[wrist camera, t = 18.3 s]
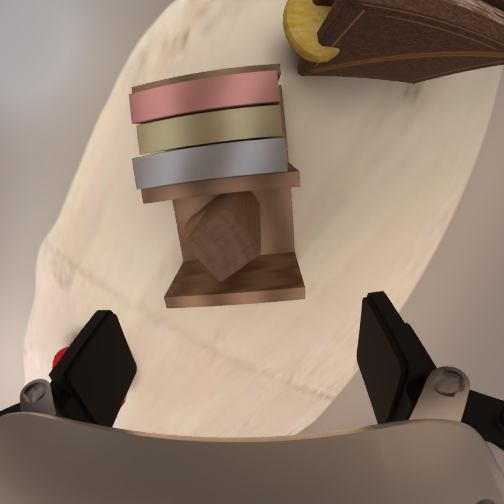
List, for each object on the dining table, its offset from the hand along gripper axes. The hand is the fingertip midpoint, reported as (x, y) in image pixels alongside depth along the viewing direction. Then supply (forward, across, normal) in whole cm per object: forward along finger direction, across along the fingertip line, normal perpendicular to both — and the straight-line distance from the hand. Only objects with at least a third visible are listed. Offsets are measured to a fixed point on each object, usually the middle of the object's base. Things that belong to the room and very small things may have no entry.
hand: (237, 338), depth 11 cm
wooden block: (+31, +4, +3) cm, 32 cm away
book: (+33, -16, -18) cm, 41 cm away
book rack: (+32, +3, -1) cm, 33 cm away
